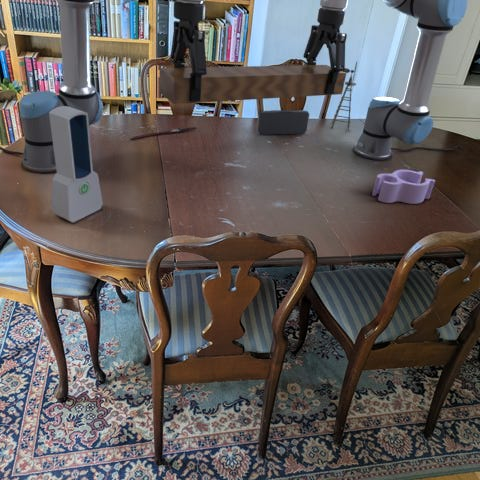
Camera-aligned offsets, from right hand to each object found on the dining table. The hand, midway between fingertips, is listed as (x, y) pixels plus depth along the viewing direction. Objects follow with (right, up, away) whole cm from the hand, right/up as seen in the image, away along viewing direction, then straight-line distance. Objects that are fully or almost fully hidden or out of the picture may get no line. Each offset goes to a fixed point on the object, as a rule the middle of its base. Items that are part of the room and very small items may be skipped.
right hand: (318, 88), depth 143 cm
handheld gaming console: (-6, +1, +63) cm, 64 cm away
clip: (+32, -31, +21) cm, 49 cm away
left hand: (-38, -8, -20) cm, 44 cm away
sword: (-56, -3, +49) cm, 74 cm away
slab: (-19, -5, -10) cm, 22 cm away
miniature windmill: (+24, +7, +79) cm, 83 cm away
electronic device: (-71, -39, -8) cm, 81 cm away
